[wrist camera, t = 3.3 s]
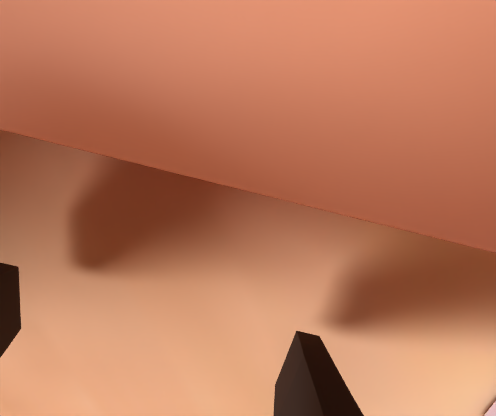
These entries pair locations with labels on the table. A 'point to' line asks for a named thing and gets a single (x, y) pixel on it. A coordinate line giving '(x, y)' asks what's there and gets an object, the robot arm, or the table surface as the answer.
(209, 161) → the T block
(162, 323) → the table surface
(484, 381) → the table surface
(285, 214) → the table surface
